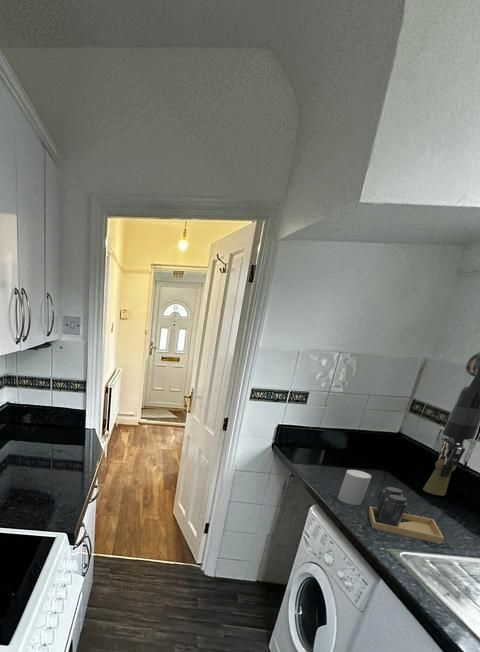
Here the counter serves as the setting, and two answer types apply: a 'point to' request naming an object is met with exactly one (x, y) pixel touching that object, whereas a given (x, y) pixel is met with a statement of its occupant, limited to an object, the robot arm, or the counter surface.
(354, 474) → the white upright cylinder
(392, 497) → the shaker
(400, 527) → the tray
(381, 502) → the shaker
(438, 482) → the cork
